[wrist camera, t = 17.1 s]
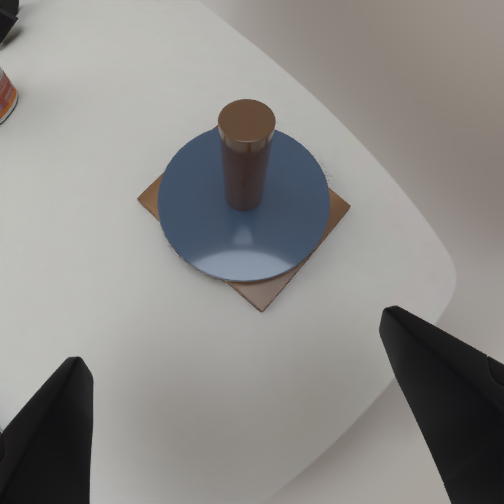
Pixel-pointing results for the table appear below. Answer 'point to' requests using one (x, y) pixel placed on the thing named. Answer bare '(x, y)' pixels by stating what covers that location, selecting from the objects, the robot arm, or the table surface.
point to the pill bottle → (6, 96)
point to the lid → (243, 198)
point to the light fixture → (7, 16)
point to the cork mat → (263, 290)
